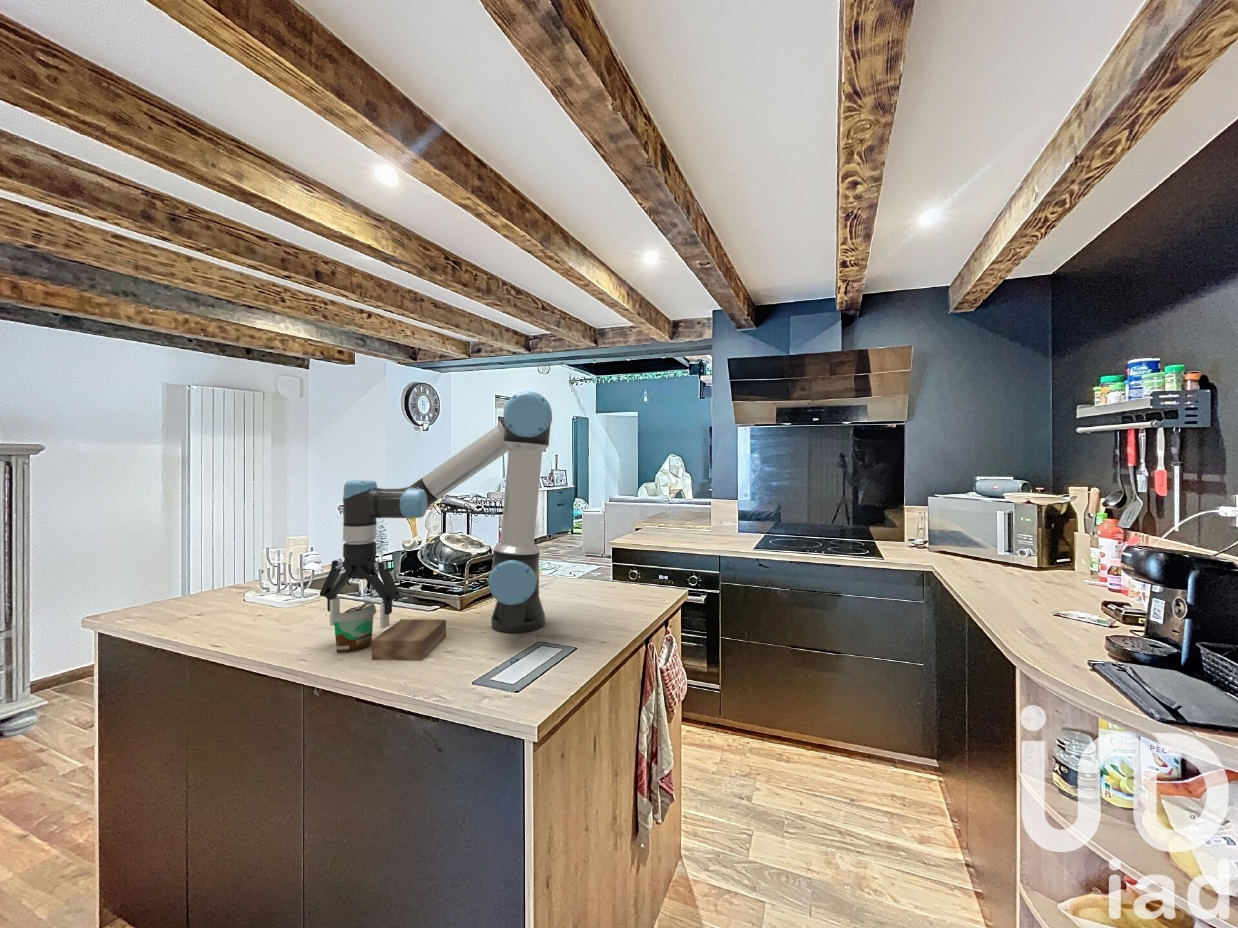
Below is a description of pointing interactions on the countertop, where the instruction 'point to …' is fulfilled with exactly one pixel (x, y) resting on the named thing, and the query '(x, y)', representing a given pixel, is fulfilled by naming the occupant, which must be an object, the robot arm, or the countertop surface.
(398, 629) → the walnut box
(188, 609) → the countertop surface
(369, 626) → the food container
